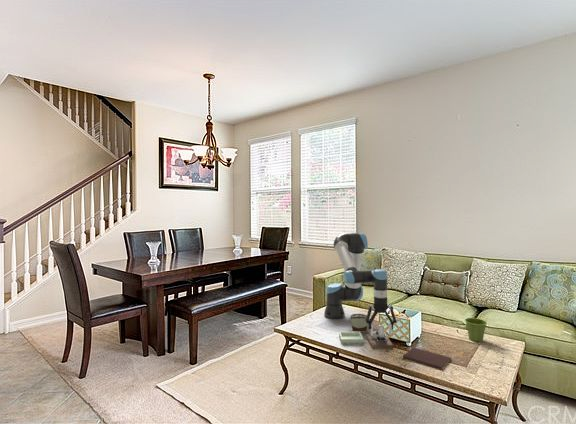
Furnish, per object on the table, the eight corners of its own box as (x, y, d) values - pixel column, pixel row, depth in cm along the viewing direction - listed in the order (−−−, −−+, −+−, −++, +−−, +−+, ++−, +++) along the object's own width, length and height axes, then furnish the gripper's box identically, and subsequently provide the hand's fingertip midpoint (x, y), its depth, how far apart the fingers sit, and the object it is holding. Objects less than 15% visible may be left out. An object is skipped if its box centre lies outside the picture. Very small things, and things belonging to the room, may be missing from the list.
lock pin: (377, 341, 194) (377, 324, 194) (383, 341, 194) (382, 324, 194) (379, 343, 191) (379, 326, 191) (384, 343, 191) (384, 326, 191)
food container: (367, 328, 221) (367, 313, 221) (369, 331, 215) (369, 316, 215) (349, 328, 222) (349, 313, 222) (350, 331, 216) (349, 316, 216)
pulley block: (366, 337, 205) (366, 328, 205) (385, 337, 205) (385, 328, 205) (371, 348, 189) (371, 339, 189) (393, 348, 189) (393, 339, 189)
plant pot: (465, 341, 197) (464, 322, 197) (464, 334, 207) (464, 316, 207) (488, 345, 191) (488, 325, 191) (486, 337, 202) (486, 319, 202)
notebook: (413, 350, 188) (413, 346, 188) (451, 360, 174) (450, 356, 174) (402, 359, 177) (402, 355, 177) (441, 371, 163) (441, 367, 163)
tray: (339, 336, 208) (339, 331, 208) (359, 336, 207) (359, 331, 207) (341, 344, 196) (341, 339, 196) (363, 344, 196) (363, 339, 195)
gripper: (362, 298, 188) (362, 337, 189) (402, 298, 188) (402, 337, 188) (359, 295, 196) (360, 332, 196) (398, 294, 195) (398, 332, 196)
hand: (381, 334), depth 192 cm, fingers open, 10 cm apart
